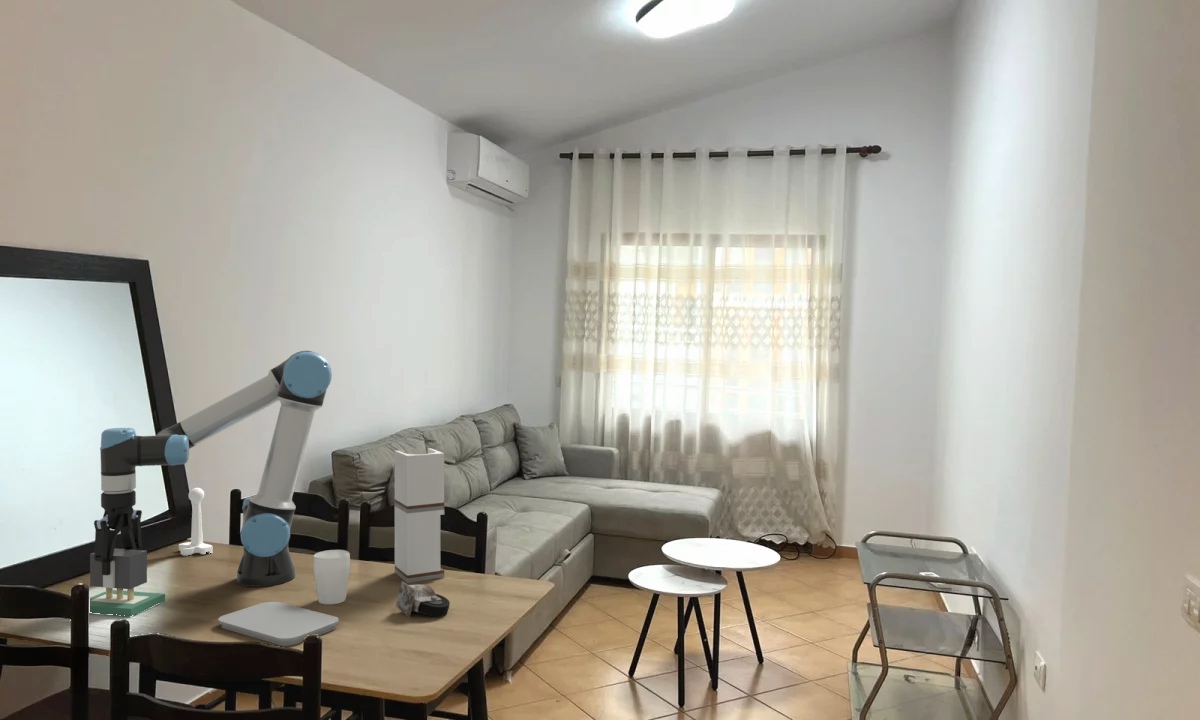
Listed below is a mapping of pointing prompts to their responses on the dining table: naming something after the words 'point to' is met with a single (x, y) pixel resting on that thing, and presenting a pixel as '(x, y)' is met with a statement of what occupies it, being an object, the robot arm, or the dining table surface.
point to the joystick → (196, 527)
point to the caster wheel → (421, 600)
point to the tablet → (278, 622)
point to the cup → (331, 575)
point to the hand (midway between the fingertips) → (119, 583)
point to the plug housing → (122, 569)
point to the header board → (124, 602)
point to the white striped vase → (418, 515)
